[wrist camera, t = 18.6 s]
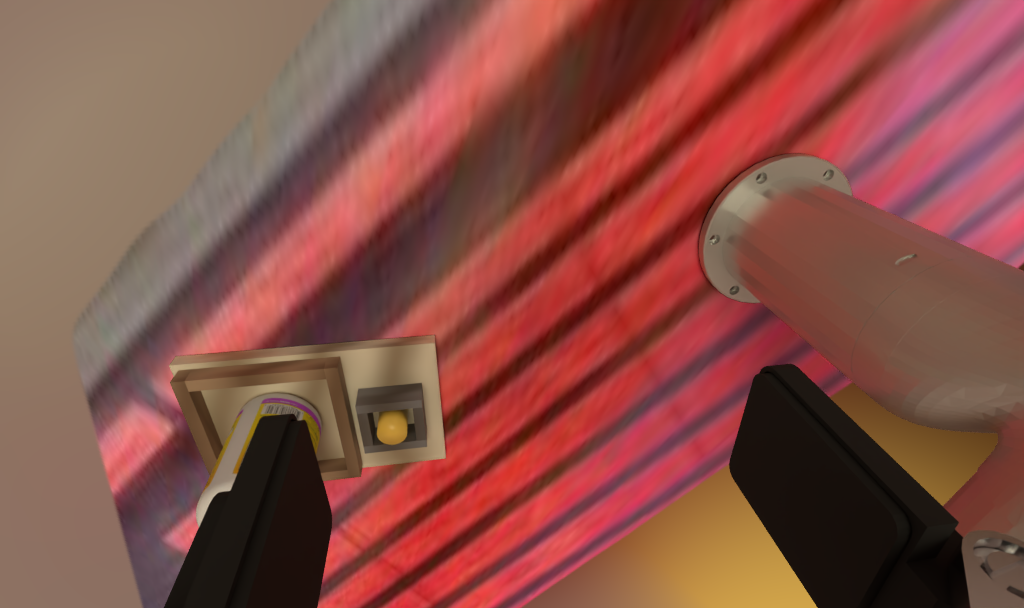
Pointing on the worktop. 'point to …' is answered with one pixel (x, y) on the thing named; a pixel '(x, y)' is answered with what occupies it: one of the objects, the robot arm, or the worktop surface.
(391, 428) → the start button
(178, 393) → the beige tray
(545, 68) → the worktop surface
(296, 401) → the supplement bottle
